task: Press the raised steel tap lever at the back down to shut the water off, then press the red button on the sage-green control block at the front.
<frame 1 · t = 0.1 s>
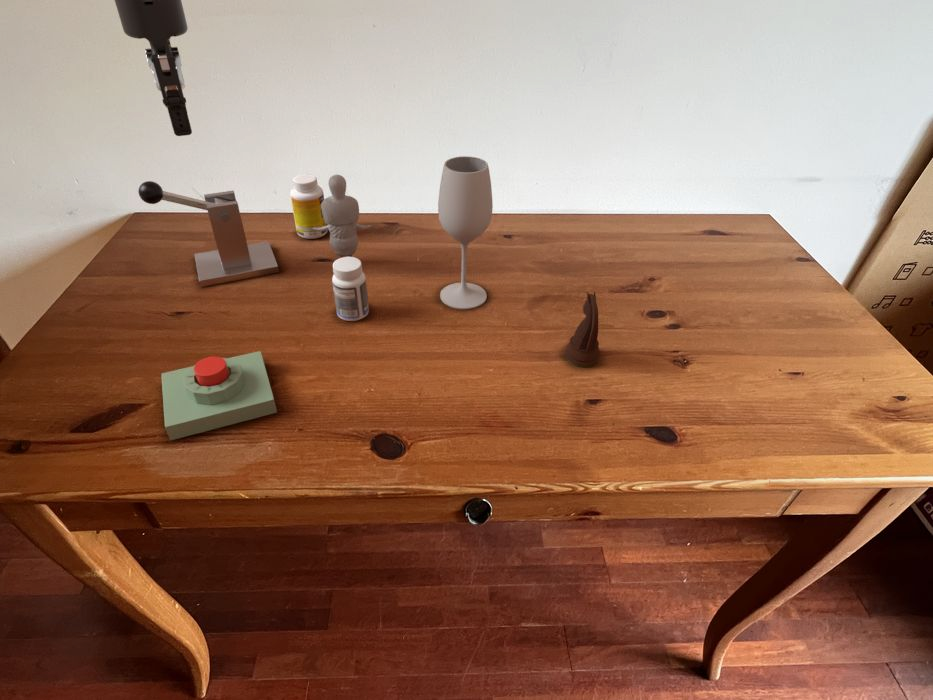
hand: (181, 124, 84), 23 cm above the table, tool pointing down, fingers open, 8 cm apart
button block: (220, 399, 75), on the table
chess piece: (581, 359, 83), on the table
supplement bottle: (313, 233, 109), on the table
tap bracket: (237, 266, 99), on the table
red button: (211, 371, 72), point 5 cm above the table, slide at 0.2 cm
wineglass: (463, 297, 94), on the table
tap lever: (187, 201, 90), point 12 cm above the table, hinge at 25.0°
pill bottle: (353, 313, 90), on the table
figurine: (346, 262, 101), on the table
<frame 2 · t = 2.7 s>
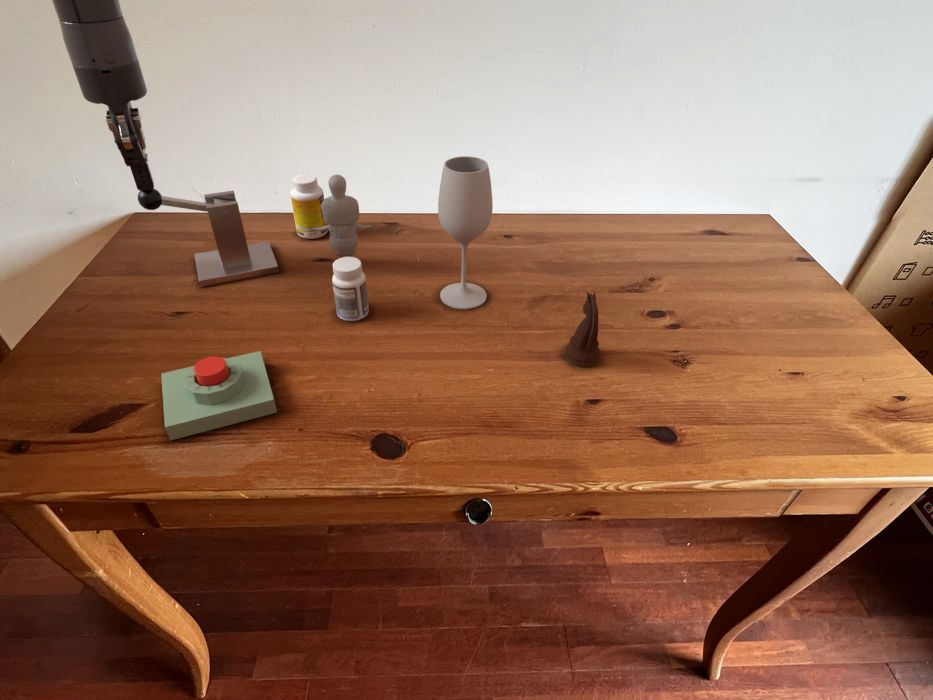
hand: (146, 188, 87), 15 cm above the table, tool pointing down, fingers closed
tap lever: (187, 204, 91), point 12 cm above the table, hinge at 19.4°, touching gripper
everything else where it was.
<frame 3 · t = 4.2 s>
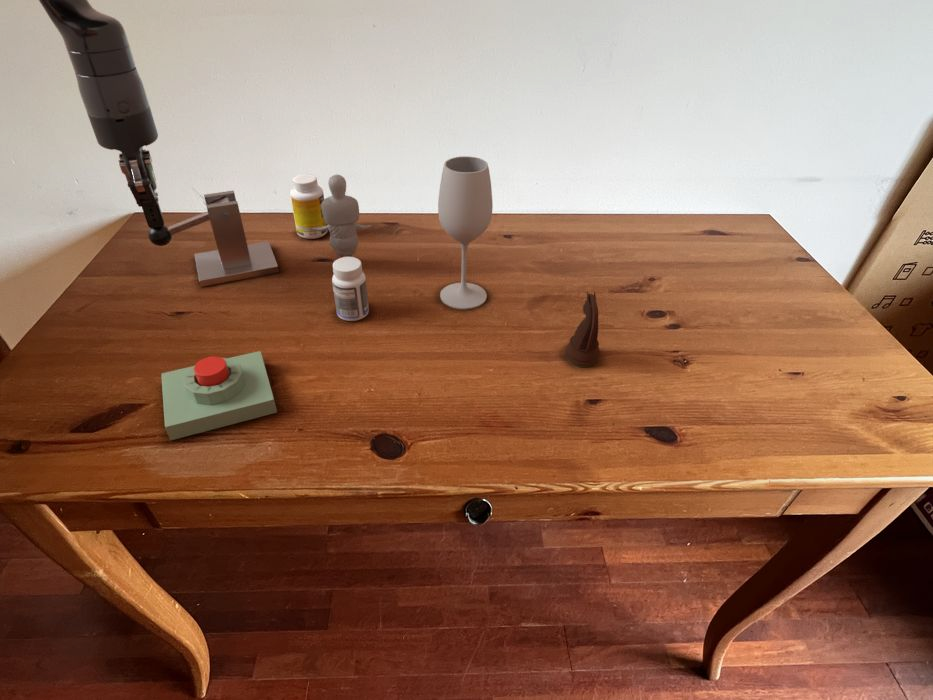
hand: (156, 225, 91), 9 cm above the table, tool pointing down, fingers closed
tap lever: (191, 222, 92), point 9 cm above the table, hinge at -14.6°, touching gripper
everything else where it was.
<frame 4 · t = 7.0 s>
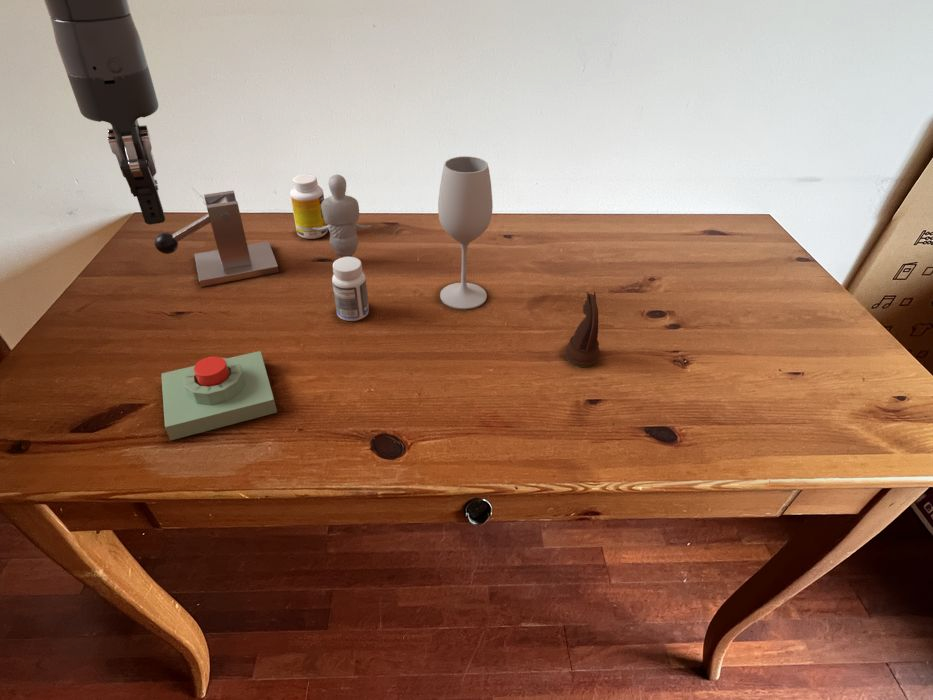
hand: (155, 221, 72), 18 cm above the table, tool pointing down, fingers closed
tap lever: (194, 226, 93), point 8 cm above the table, hinge at -23.4°
everything else where it was.
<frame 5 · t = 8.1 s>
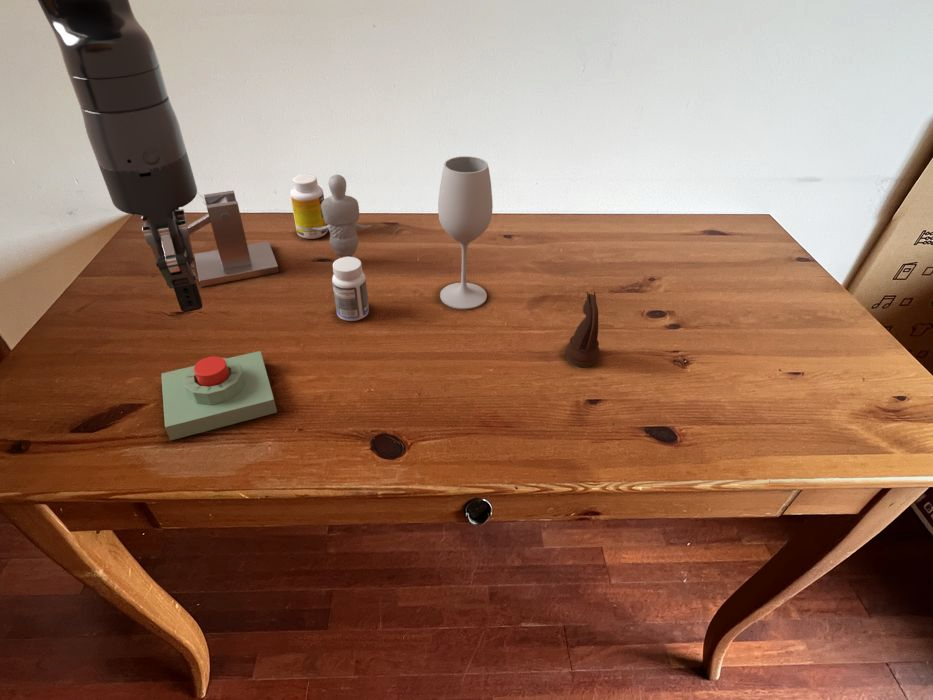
hand: (192, 307, 66), 14 cm above the table, tool pointing down, fingers closed
nothing on the table moved.
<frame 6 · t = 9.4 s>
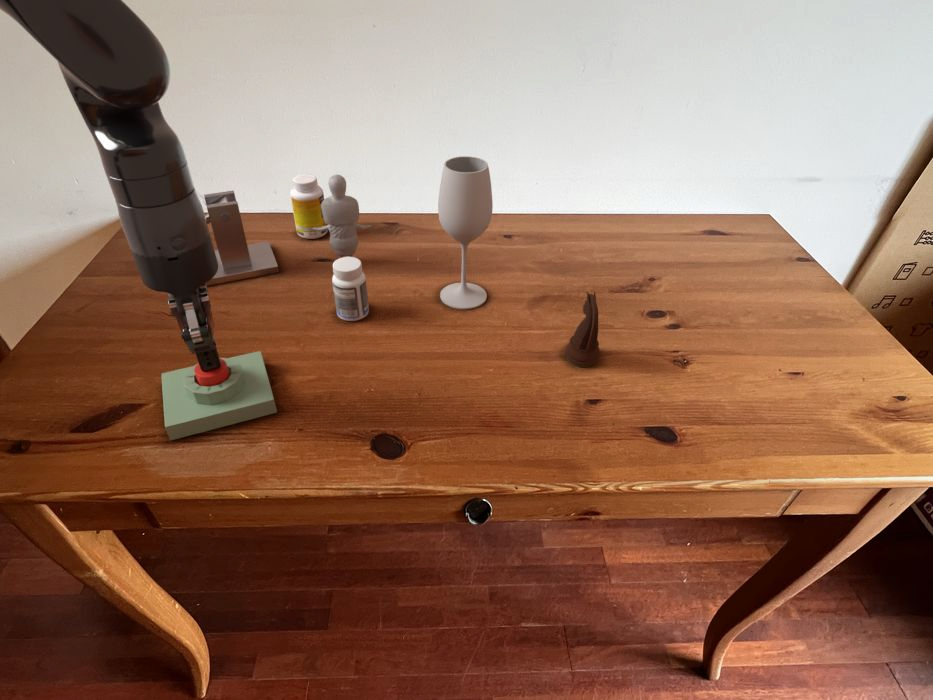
hand: (211, 366, 71), 5 cm above the table, tool pointing down, fingers closed
red button: (212, 372, 72), point 4 cm above the table, slide at -0.1 cm, touching gripper
everything else where it was.
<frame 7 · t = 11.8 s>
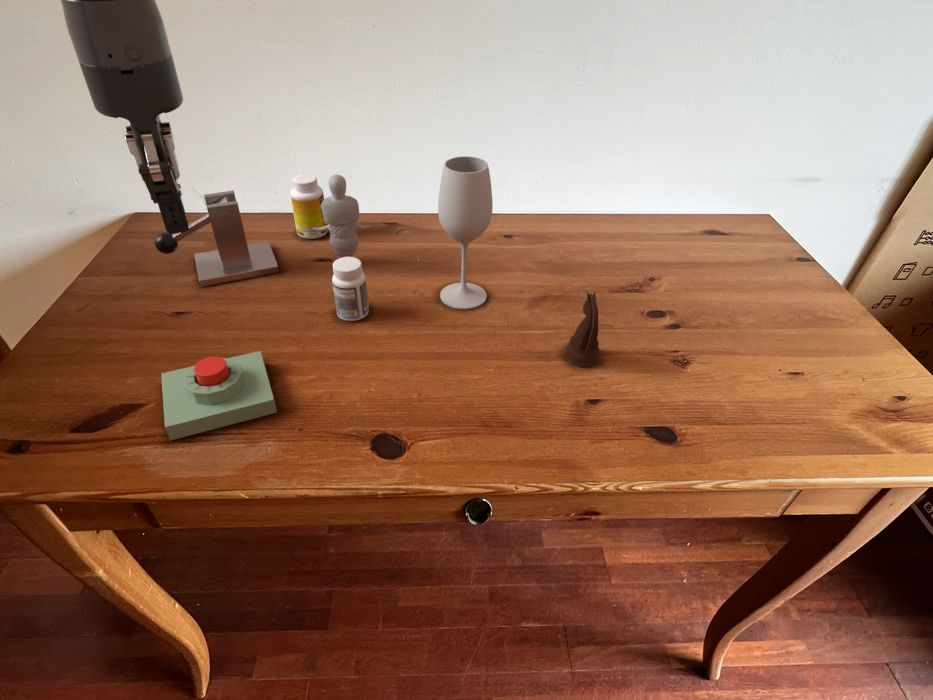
hand: (178, 230, 64), 21 cm above the table, tool pointing down, fingers closed
red button: (211, 371, 72), point 5 cm above the table, slide at 0.2 cm
everything else where it was.
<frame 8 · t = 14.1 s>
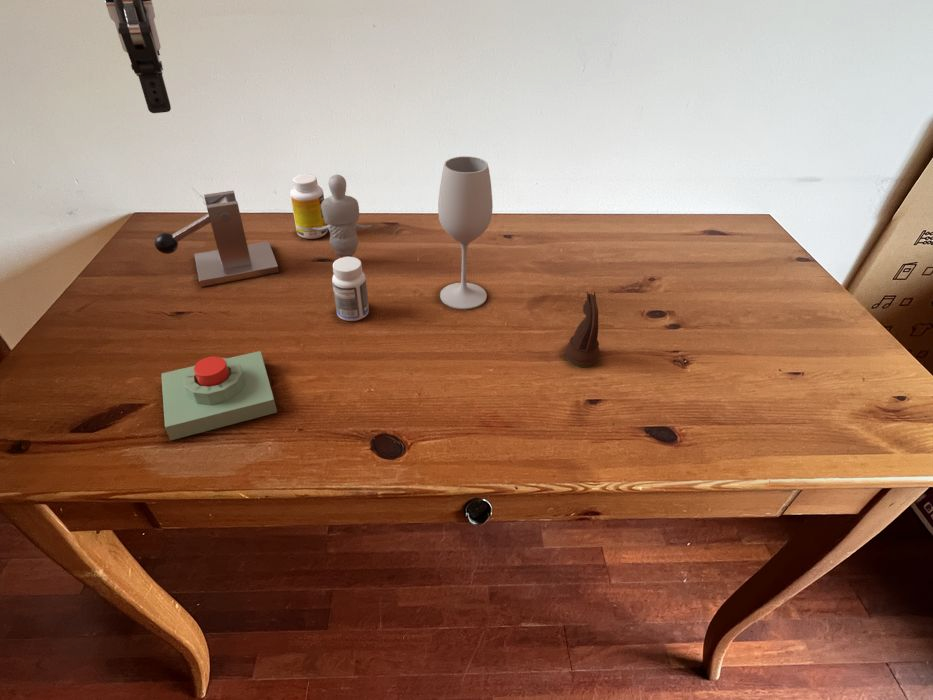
hand: (160, 110, 65), 31 cm above the table, tool pointing down, fingers closed
nothing on the table moved.
at the end: tap lever at -23° (first picture: +25°); red button pushed in 1.1 cm at the most during the clip, back to 0.2 cm at the end; red button slide at 0.2 cm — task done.
